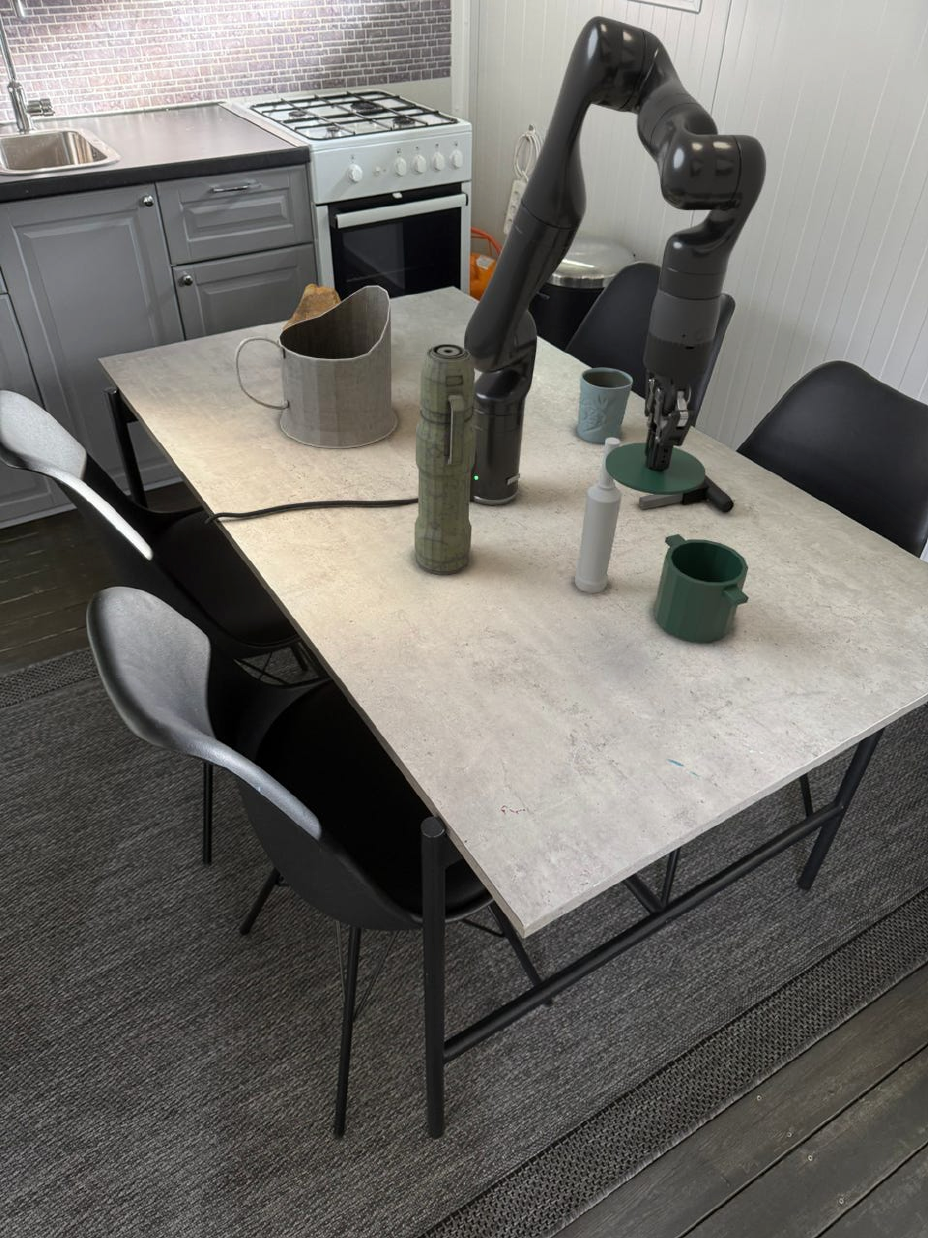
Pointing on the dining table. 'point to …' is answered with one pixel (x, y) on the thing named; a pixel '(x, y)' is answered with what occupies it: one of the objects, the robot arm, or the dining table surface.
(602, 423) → the blue embossed cup
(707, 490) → the black staple gun
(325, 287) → the rough brown rock
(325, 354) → the pitcher
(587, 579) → the bottle
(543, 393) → the dining table surface
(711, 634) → the pot
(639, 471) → the lid
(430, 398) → the thermos
